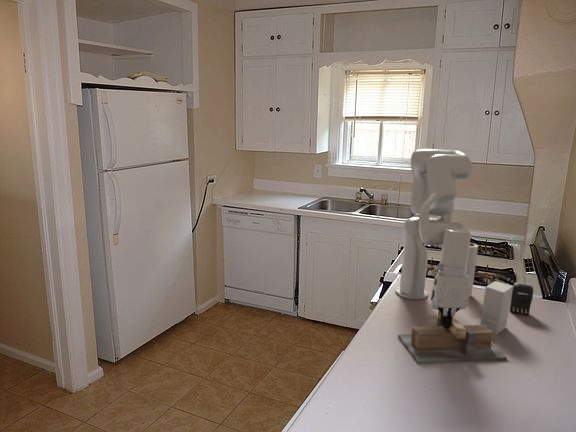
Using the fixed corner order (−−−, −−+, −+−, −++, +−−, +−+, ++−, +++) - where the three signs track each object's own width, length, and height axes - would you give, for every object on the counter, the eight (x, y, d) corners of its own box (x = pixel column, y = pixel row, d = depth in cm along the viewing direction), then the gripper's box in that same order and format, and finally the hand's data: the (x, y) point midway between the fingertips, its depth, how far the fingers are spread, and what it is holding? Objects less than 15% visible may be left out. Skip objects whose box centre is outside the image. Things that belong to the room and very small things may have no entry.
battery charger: (509, 313, 174) (513, 284, 171) (508, 309, 177) (513, 281, 174) (529, 317, 171) (534, 288, 168) (529, 313, 174) (534, 284, 172)
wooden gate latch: (397, 336, 152) (400, 312, 150) (478, 334, 156) (481, 310, 154) (417, 363, 136) (420, 336, 134) (506, 360, 140) (510, 334, 138)
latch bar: (435, 316, 152) (436, 308, 152) (446, 316, 153) (447, 308, 152) (455, 338, 138) (456, 329, 137) (467, 338, 138) (468, 329, 138)
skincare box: (488, 321, 166) (494, 280, 163) (507, 328, 162) (514, 285, 158) (478, 328, 160) (484, 285, 157) (498, 335, 156) (504, 291, 152)
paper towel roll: (461, 290, 194) (468, 241, 189) (474, 295, 189) (481, 245, 184) (450, 294, 190) (457, 243, 185) (463, 299, 185) (470, 247, 180)
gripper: (433, 273, 134) (426, 332, 138) (483, 274, 135) (474, 332, 140) (423, 265, 141) (417, 320, 145) (470, 265, 143) (463, 320, 147)
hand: (445, 326), depth 143 cm, fingers closed
